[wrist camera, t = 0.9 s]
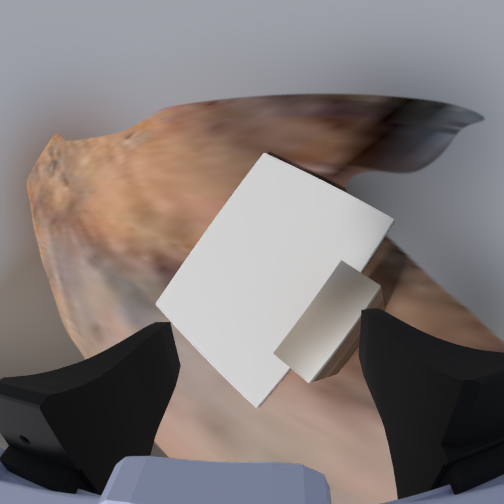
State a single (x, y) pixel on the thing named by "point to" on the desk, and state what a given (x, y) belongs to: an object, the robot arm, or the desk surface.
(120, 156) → the desk surface
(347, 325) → the brown wooden block
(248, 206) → the mat
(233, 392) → the desk surface
